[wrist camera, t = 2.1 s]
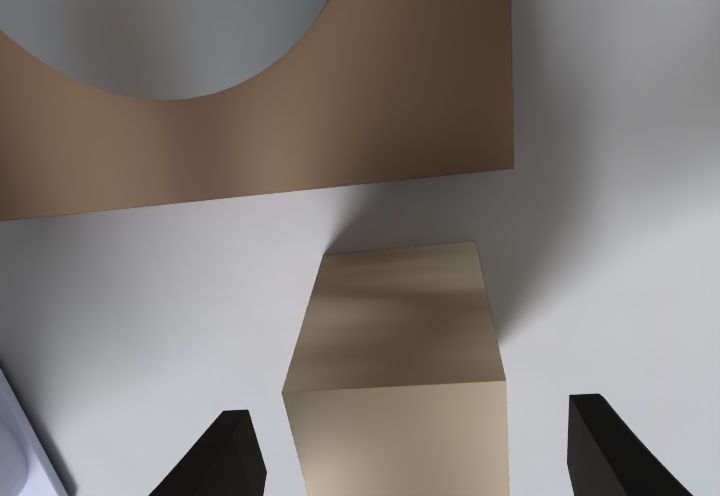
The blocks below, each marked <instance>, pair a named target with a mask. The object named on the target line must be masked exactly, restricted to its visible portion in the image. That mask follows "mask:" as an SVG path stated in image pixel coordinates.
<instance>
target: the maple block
mask: <svg viewBox="0 0 720 496" xmlns="http://www.w3.org/2000/svg"><path fill="white" fill-rule="evenodd" d="M282 396H283V400H284V404H285V408H286V412H287V416H288V420H289V423H290V427H291V431H292V435H293V439H294V443H295V447H296V451H297V454H298V458H299V462H300V466H301V470H302V474H303V478H304V482H305V485H306V489H307V493H308V496H510V494H509V460H508V427H507V393H506V378H505V373H504V369H503V365H502V360H501V356H500V351H499V347H498V342H497V338H496V333H495V329H494V324H493V320H492V315H491V311H490V306H489V302H488V297H487V293H486V289H485V284H484V280H483V275H482V271H481V266H480V262H479V257H478V253H477V248H476V244H475V241H472V242H460V243H449V244H437V245H426V246H414V247H402V248H391V249H379V250H368V251H356V252H345V253H333V254H323V257H322V260H321V264H320V267H319V270H318V274H317V277H316V280H315V283H314V287H313V290H312V293H311V297H310V300H309V303H308V307H307V310H306V313H305V317H304V320H303V323H302V327H301V330H300V333H299V337H298V340H297V343H296V347H295V350H294V353H293V356H292V360H291V363H290V366H289V370H288V373H287V376H286V380H285V383H284V386H283V390H282Z"/></svg>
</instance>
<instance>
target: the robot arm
mask: <svg viewBox="0 0 720 496" xmlns="http://www.w3.org/2000/svg"><path fill="white" fill-rule="evenodd" d="M567 466H568V470H569V474H570V479H571V483H572V488H573V492H574V496H693V495H692V494H691V493H690V492H689V491H688V490H687V489H686V488H685V487H684V486H683V485H682V484H681V483H680V482H679V481H678V480H677V479H676V478H675V477H674V476H673V475H672V474H671V473H670V472H669V471H668V470H667V469H666V468H665V467H664V466H663V465H662V464H661V463H660V461H659V460H658V459H657V458H656V457H655V456H654V455H653V454H652V453H651V452H650V451H649V450H648V449H647V448H646V446H645V445H644V444H643V443H642V442H641V441H640V440H639V439H638V437H637V436H636V435H635V434H634V433H633V432H632V431H631V430H630V428H629V427H628V426H627V425H626V424H625V423H624V421H623V420H622V419H621V418H620V417H619V415H618V414H617V413H616V412H615V411H614V409H613V408H612V407H611V406H610V404H609V403H608V402H607V401H606V399H605V398H604V397H603V396H601V395H600V394H579V395H569V421H568V449H567ZM266 475H267V471H266V467H265V464H264V461H263V457H262V454H261V451H260V447H259V444H258V441H257V437H256V434H255V431H254V427H253V424H252V421H251V417H250V414H249V411H248V410H229V411H223V412H222V413H221V414H220V415H219V416H218V418H217V419H216V420H215V421H214V422H213V423H212V424H211V425H210V427H209V428H208V429H207V430H206V431H205V432H204V434H203V435H202V436H201V437H200V438H199V439H198V441H197V442H196V443H195V444H194V445H193V446H192V448H191V449H190V450H189V451H188V452H187V453H186V455H185V456H184V457H183V458H182V459H181V460H180V461H179V463H178V464H177V465H176V466H175V467H174V468H173V469H172V470H171V472H170V473H169V474H168V475H167V476H166V477H165V478H164V479H163V481H162V482H161V483H160V484H159V485H158V486H157V487H156V488H155V489H154V490H153V491H152V492H151V493H150V494H149V496H263V493H264V487H265V481H266ZM0 496H68V495H67V493H66V491H65V489H64V487H63V485H62V483H61V481H60V479H59V478H58V476H57V474H56V472H55V470H54V468H53V466H52V464H51V463H50V461H49V459H48V457H47V455H46V453H45V451H44V449H43V448H42V446H41V444H40V442H39V440H38V438H37V436H36V434H35V432H34V431H33V429H32V427H31V425H30V423H29V421H28V419H27V417H26V416H25V414H24V412H23V410H22V408H21V406H20V404H19V402H18V401H17V399H16V397H15V395H14V393H13V391H12V389H11V387H10V385H9V384H8V382H7V380H6V378H5V376H4V374H3V372H2V370H1V369H0Z"/></svg>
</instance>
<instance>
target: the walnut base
mask: <svg viewBox="0 0 720 496" xmlns="http://www.w3.org/2000/svg"><path fill="white" fill-rule="evenodd" d="M504 169H514V153H513V97H512V41H511V0H0V221H9V220H19V219H29V218H38V217H48V216H58V215H67V214H77V213H87V212H97V211H106V210H116V209H126V208H135V207H145V206H155V205H164V204H174V203H184V202H194V201H203V200H213V199H223V198H232V197H242V196H252V195H262V194H271V193H281V192H291V191H300V190H310V189H320V188H330V187H339V186H349V185H359V184H368V183H378V182H388V181H397V180H407V179H417V178H427V177H436V176H446V175H456V174H465V173H475V172H485V171H495V170H504Z"/></svg>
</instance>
